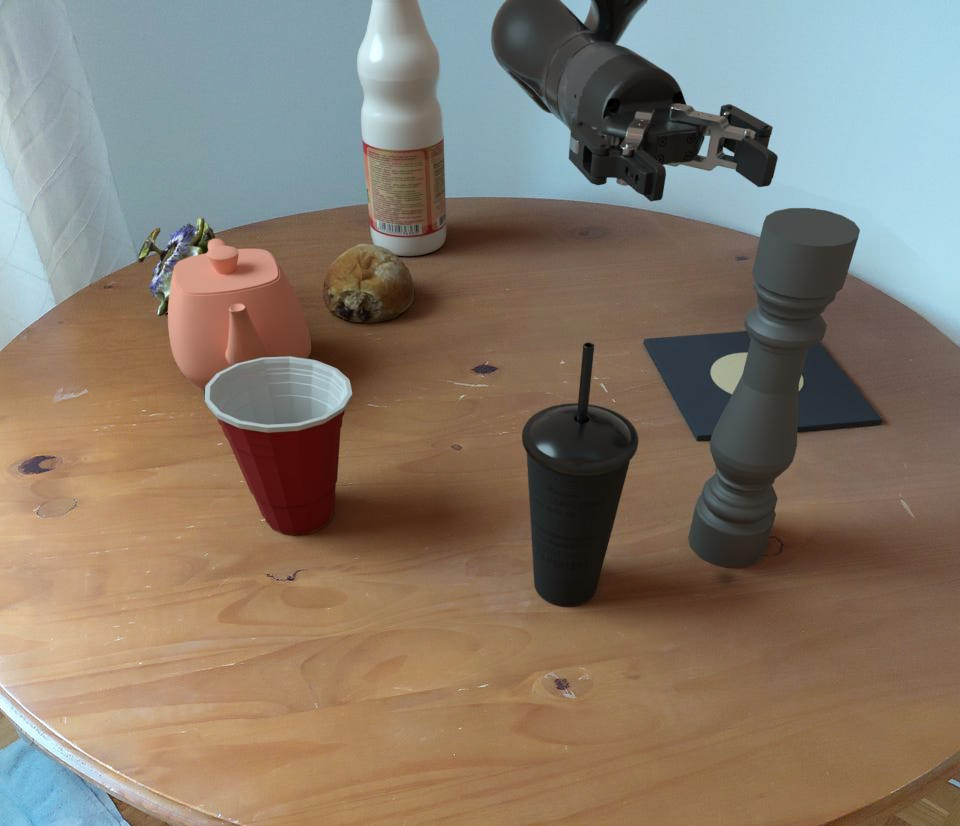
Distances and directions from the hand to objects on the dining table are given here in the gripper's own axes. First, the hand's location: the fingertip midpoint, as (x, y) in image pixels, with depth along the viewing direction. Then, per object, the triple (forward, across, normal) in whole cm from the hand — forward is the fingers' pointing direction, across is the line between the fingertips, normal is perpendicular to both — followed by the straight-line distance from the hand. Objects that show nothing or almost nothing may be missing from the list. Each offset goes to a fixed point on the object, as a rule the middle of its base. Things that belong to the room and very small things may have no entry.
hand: (715, 179), depth 62 cm
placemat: (-10, +15, +24) cm, 30 cm away
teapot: (-27, -33, +24) cm, 49 cm away
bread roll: (-38, -18, +24) cm, 48 cm away
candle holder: (+11, 0, +24) cm, 27 cm away
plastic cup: (-4, -32, +24) cm, 40 cm away
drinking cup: (+12, -14, +24) cm, 30 cm away
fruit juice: (-52, -9, +24) cm, 58 cm away
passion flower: (-42, -35, +24) cm, 60 cm away
